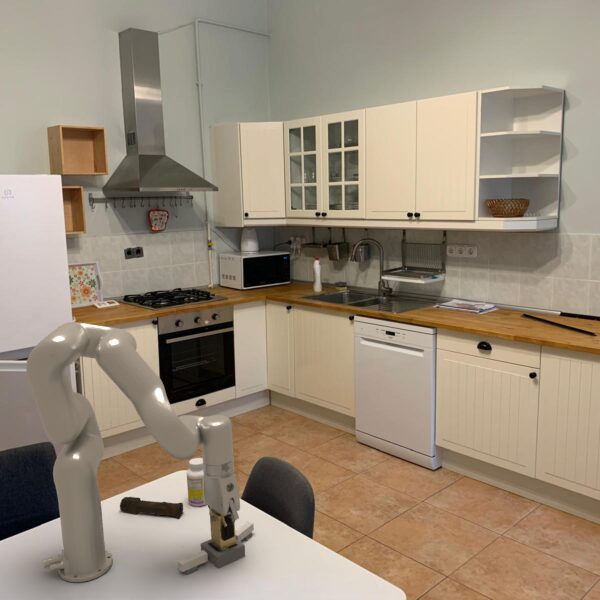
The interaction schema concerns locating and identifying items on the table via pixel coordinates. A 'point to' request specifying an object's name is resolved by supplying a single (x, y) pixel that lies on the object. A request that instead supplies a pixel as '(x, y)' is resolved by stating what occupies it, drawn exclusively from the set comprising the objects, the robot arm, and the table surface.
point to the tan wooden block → (219, 531)
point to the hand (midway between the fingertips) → (222, 533)
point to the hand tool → (150, 507)
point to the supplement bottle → (196, 482)
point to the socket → (213, 556)
